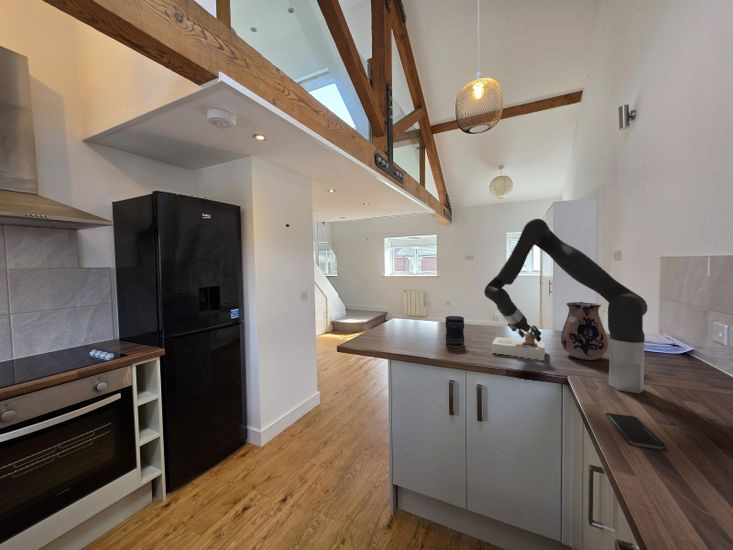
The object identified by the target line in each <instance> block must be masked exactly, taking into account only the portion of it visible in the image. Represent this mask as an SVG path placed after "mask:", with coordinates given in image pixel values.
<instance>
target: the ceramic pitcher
mask: <svg viewBox="0 0 733 550" xmlns="http://www.w3.org/2000/svg"><path fill="white" fill-rule="evenodd" d="M566 306H567V308H568V314H567V316H566V319H565V322H564V324H563V327H562V331H561V335H560V342H561V346H562V348H563V349H564V351H565V352H566V353H567V354H568V355H570V356H571V357H573V358H577V359H581V360H585V361H586V360H587V361H595V360H598V359H600V358H602V357H603V356H604V354H605V353H607V350H608V348H609V339H608V336H607V333H606V331H605V328H604V326H603V323H602V320H601V317H600V314H599V313H600V312H599V309H600V308H601V306H602V304H598V303H593V302H583V301H578V302H577V301H575V302H574V301H573V302H567V303H566Z"/></svg>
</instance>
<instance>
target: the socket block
mask: <svg viewBox="0 0 733 550" xmlns="http://www.w3.org/2000/svg"><path fill="white" fill-rule="evenodd" d="M545 349H546V342H545V341H540V342H537V340H535V346H527V345H525V339H516V338H508V337H499V336H496V337H495V338H494V340H493V341H492V343H491V354H492V353H498V354H505V355H512V356H511V357H513V356H518V357H517V358H520V357H524V358H523V359H527V358H530V359H529V360H534V359H538V360H537V361H541V360H544V361H545V357H544V356H545V354H546V352H545V351H546V350H545ZM498 354H497V355H498ZM505 355H504V356H505Z"/></svg>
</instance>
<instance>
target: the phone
mask: <svg viewBox="0 0 733 550" xmlns="http://www.w3.org/2000/svg"><path fill="white" fill-rule="evenodd" d="M605 418H606V419H607V420H608V422H609V423H610V424H611V425H612V427H613V428H614V429H615V431H616V432H617V433H618V434H619V436H620V437H621V438H622V439H623V441H624V442H625V443H626V444H628V445H630V446H632V447H633V446H634V447H639V448H645V449H650V450H656V451H657V450H658V451H667V449H668V448H667V445H666V444H665V443H664V442H663V441H662V440H661V439H660V438H659V437H658V435H656V434H655V433H654V432H653V431H652V430H651V429H650V428H649V427H648V426H647V425H646V424H645V423H644V422H643V421H642V420H641V419H640V418H639V417H637V416H634V415H626V414H618V413H610V412H606V413H605Z"/></svg>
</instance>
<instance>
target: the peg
mask: <svg viewBox="0 0 733 550" xmlns="http://www.w3.org/2000/svg"><path fill="white" fill-rule="evenodd" d="M524 334H525V336H524V337H525V338H524V340H525V345H527V346H535V341H536V339H535V338H534V337H533V336H532V335H528V334H527V333H525V332H524Z"/></svg>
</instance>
